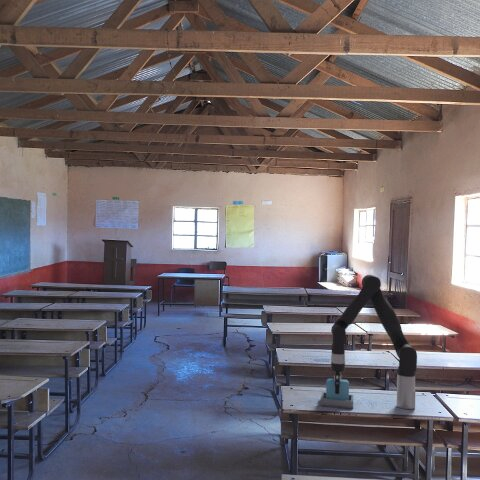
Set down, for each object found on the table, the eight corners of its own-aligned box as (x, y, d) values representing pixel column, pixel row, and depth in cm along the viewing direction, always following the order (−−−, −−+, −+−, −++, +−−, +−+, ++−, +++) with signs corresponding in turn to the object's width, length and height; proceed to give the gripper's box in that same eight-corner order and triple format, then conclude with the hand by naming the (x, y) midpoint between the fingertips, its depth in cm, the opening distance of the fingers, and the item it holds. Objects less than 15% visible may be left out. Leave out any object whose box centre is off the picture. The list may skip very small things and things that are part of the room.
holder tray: (353, 402, 275) (353, 394, 275) (352, 409, 264) (353, 401, 264) (322, 399, 280) (322, 392, 280) (320, 405, 268) (320, 398, 268)
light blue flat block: (348, 401, 273) (348, 379, 273) (348, 404, 268) (349, 382, 268) (326, 399, 275) (326, 378, 275) (325, 402, 271) (326, 380, 271)
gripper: (344, 365, 264) (344, 395, 264) (345, 359, 278) (345, 388, 278) (330, 364, 266) (329, 394, 266) (331, 358, 279) (331, 387, 279)
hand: (337, 391), depth 272 cm, fingers open, 8 cm apart
